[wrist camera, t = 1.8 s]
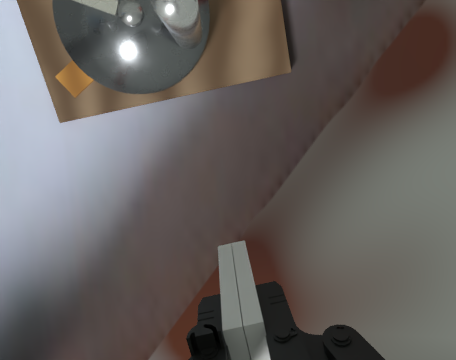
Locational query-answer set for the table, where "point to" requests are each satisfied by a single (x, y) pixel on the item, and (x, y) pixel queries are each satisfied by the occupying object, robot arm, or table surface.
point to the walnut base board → (194, 83)
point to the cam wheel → (134, 40)
